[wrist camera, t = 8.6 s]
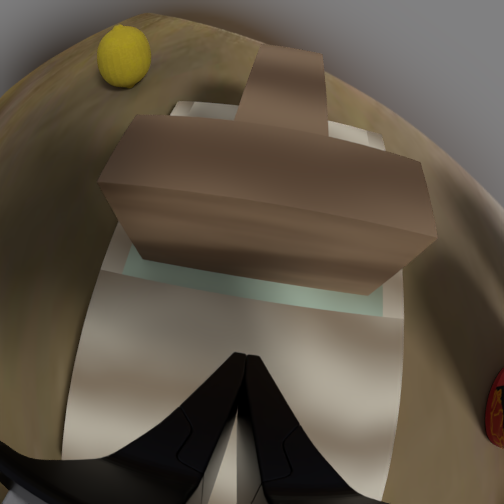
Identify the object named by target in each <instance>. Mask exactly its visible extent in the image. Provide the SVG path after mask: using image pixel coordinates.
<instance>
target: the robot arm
mask: <svg viewBox="0 0 504 504" xmlns="http://www.w3.org/2000/svg"><path fill="white" fill-rule="evenodd" d="M237 410H238V411H237ZM236 415H237V504H389V503H385V502H382V501H379V500H375V499H372V498H369V497H366V496H364V495H362V494H360V493H358V492H357V491H355V490H354V489H353V488H352V487H350V486H349V485H348V484H347V483H346V482H345V480H344V479H343V478H342V477H341V476H340V475H339V474H338V473H337V472H336V470H335V469H334V468H333V467H332V466H331V465H330V464H329V463H328V461H327V460H326V459H325V458H324V457H323V456H322V454H321V453H320V452H319V451H318V449H317V448H316V447H315V446H314V444H313V443H312V441H311V440H310V438H309V437H308V435H307V434H306V432H305V431H304V429H303V427H302V426H301V425H300V423H299V421H298V419H297V418H296V416H295V415H294V413H293V411H292V410H291V408H290V406H289V405H288V403H287V401H286V400H285V398H284V396H283V395H282V393H281V391H280V390H279V388H278V386H277V385H276V383H275V381H274V379H273V378H272V376H271V374H270V373H269V371H268V369H267V367H266V366H265V364H264V362H263V360H262V359H261V357H260V356H258V355H252V354H248V355H246V354H245V353H239V352H234V353H232V354H231V355H230V356H229V357H228V358H227V359H226V361H225V362H224V363H223V364H222V365H221V366H220V367H219V368H218V369H217V370H216V371H215V372H214V373H213V374H212V375H211V376H210V377H209V378H207V379H206V380H205V381H204V382H203V383H202V384H201V385H200V386H199V387H198V388H197V389H196V390H195V391H194V392H193V393H192V394H191V395H190V396H189V397H188V398H187V399H186V400H185V401H184V402H183V403H182V404H181V405H180V406H179V407H177V408H176V409H175V410H174V411H173V412H172V413H171V414H170V415H169V416H167V417H166V418H165V419H164V420H163V421H161V422H160V423H159V424H158V425H156V426H155V427H153V428H152V429H151V430H149V431H148V432H146V433H145V434H143V435H142V436H140V437H138V438H137V439H135V440H134V441H132V442H131V443H129V444H127V445H126V446H124V447H123V448H121V449H119V450H118V451H116V452H114V453H112V454H110V455H108V456H105V457H101V458H96V459H80V460H40V459H33V458H29V457H26V456H24V455H21V454H19V453H18V452H16V451H14V450H13V449H12V448H10V447H9V446H7V445H6V444H5V443H3V442H1V441H0V482H1V483H2V484H3V485H4V486H5V487H6V488H7V489H8V490H9V492H8V493H7V495H6V497H5V499H4V500H3V502H2V504H208V502H209V499H210V496H211V493H212V490H213V487H214V484H215V481H216V478H217V475H218V472H219V469H220V466H221V463H222V460H223V457H224V454H225V451H226V448H227V445H228V442H229V439H230V435H231V432H232V429H233V426H234V423H235V419H236Z"/></svg>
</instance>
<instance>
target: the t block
mask: <svg viewBox="0 0 504 504" xmlns="http://www.w3.org/2000/svg"><path fill="white" fill-rule="evenodd" d="M97 183H98V185H99V187H100V189H101V191H102V192H103V194H104V196H105V198H106V200H107V201H108V203H109V205H110V207H111V208H112V210H113V212H114V213H115V215H116V217H117V219H118V220H119V222H120V224H121V225H122V227H123V229H124V230H125V232H126V234H127V235H128V237H129V238H130V240H131V242H132V243H133V245H134V246H135V248H136V250H137V251H138V253H139V254H140V256H141V258H142V259H144V260H149V261H154V262H160V263H165V264H170V265H176V266H181V267H187V268H193V269H198V270H204V271H210V272H216V273H221V274H227V275H233V276H239V277H245V278H251V279H258V280H264V281H270V282H276V283H283V284H289V285H296V286H302V287H309V288H316V289H323V290H329V291H336V292H343V293H351V294H358V295H365V296H368V295H370V294H371V293H372V292H373V291H375V290H376V289H377V288H379V287H380V286H381V285H383V284H384V283H385V282H386V281H388V280H389V279H390V278H391V277H393V276H394V275H395V274H396V273H398V272H399V271H400V270H401V269H402V268H404V267H405V266H406V265H407V264H408V263H410V262H411V261H412V260H413V259H414V258H416V257H417V256H418V255H419V254H420V253H421V252H423V251H424V250H425V249H426V248H427V247H428V246H429V245H431V244H432V243H433V242H434V241H435V240H436V239H437V238H438V236H437V230H436V225H435V219H434V215H433V210H432V205H431V201H430V197H429V192H428V188H427V184H426V181H425V177H424V173H423V170H422V166H421V163H420V162H419V161H416V160H413V159H410V158H406V157H403V156H400V155H397V154H394V153H390V152H387V151H384V150H380V149H377V148H373V147H369V146H366V145H362V144H358V143H354V142H350V141H346V140H342V139H338V138H333V137H329V130H328V113H327V98H326V86H325V75H324V65H323V56H322V54H320V53H315V52H310V51H305V50H300V49H293V48H288V47H281V46H274V45H267V44H261V46H260V48H259V51H258V54H257V56H256V59H255V62H254V64H253V67H252V70H251V72H250V75H249V78H248V81H247V84H246V86H245V89H244V92H243V95H242V98H241V101H240V104H239V107H238V110H237V112H236V115H235V118H234V121H233V120H224V119H214V118H203V117H189V116H170V115H136V116H135V117H134V119H133V121H132V122H131V124H130V125H129V127H128V128H127V130H126V131H125V133H124V135H123V136H122V138H121V139H120V141H119V143H118V144H117V146H116V148H115V149H114V151H113V153H112V155H111V156H110V158H109V160H108V162H107V163H106V165H105V167H104V169H103V171H102V172H101V174H100V176H99V178H98V180H97Z"/></svg>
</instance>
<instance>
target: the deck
mask: <svg viewBox="0 0 504 504" xmlns="http://www.w3.org/2000/svg"><path fill="white" fill-rule="evenodd" d="M238 107H239V106H238V105H228V104H218V103H205V102H189V101H178V103H177V104H176V106H175V108H174V109H173V111H172V113H171V115H170V116H189V117H203V118H214V119H224V120H233V121H234V118H235V115H236V112H237V110H238ZM328 130H329V137H333V138H338V139H342V140H346V141H350V142H354V143H358V144H362V145H366V146H369V147H373V148H377V149H380V150H384V151H385V146H384V142H383V138H382V135H381V134H377V133H374V132H371V131H367V130H363V129H360V128H356V127H352V126H348V125H344V124H340V123H336V122H332V121H328ZM403 348H404V295H403V274H402V269H401V270H400V271H399V272H398V273H396V274H395V275H394V276H393V277H391V278H390V279H389V280H388V281H386V282H385V283H384V284H383V285H381V286H380V287H379V288H377V289H376V290H375V291H373V292H372V293H371V294H370V295H368V296H365V295H358V294H351V293H343V292H336V291H329V290H323V289H316V288H309V287H302V286H296V285H289V284H283V283H276V282H270V281H264V280H258V279H251V278H245V277H239V276H233V275H227V274H221V273H216V272H210V271H204V270H198V269H193V268H187V267H181V266H176V265H170V264H165V263H160V262H154V261H149V260H144V259H142V258H141V256H140V254H139V253H138V251H137V250H136V248H135V246H134V245H133V243H132V242H131V240H130V238H129V237H128V235H127V234H126V232H125V230H124V229H123V227H122V225H121V224H120V222H119V221H118V224H117V226H116V229H115V231H114V234H113V236H112V239H111V241H110V244H109V247H108V250H107V252H106V255H105V258H104V261H103V264H102V266H101V269H100V272H99V275H98V278H97V281H96V285H95V288H94V291H93V294H92V297H91V301H90V304H89V308H88V311H87V315H86V318H85V322H84V326H83V330H82V334H81V338H80V342H79V346H78V350H77V355H76V360H75V364H74V369H73V374H72V380H71V385H70V391H69V397H68V403H67V410H66V418H65V426H64V435H63V447H62V460H80V459H96V458H101V457H105V456H108V455H110V454H112V453H114V452H116V451H118V450H119V449H121V448H123V447H124V446H126V445H127V444H129V443H131V442H132V441H134V440H135V439H137V438H138V437H140V436H142V435H143V434H145V433H146V432H148V431H149V430H151V429H152V428H153V427H155V426H156V425H158V424H159V423H160V422H161V421H163V420H164V419H165V418H166V417H167V416H169V415H170V414H171V413H172V412H173V411H174V410H175V409H176V408H177V407H179V406H180V405H181V404H182V403H183V402H184V401H185V400H186V399H187V398H188V397H189V396H190V395H191V394H192V393H193V392H194V391H195V390H196V389H197V388H198V387H199V386H200V385H201V384H202V383H203V382H204V381H205V380H206V379H207V378H209V377H210V376H211V375H212V374H213V373H214V372H215V371H216V370H217V369H218V368H219V367H220V366H221V365H222V364H223V363H224V362H225V361H226V359H227V358H228V357H229V356H230V355H231V354H232V353H234V352H239V353H245V354H246V355H248V354H252V355H258V356H260V357H261V359H262V360H263V362H264V364H265V366H266V367H267V369H268V371H269V373H270V374H271V376H272V378H273V379H274V381H275V383H276V385H277V386H278V388H279V390H280V391H281V393H282V395H283V396H284V398H285V400H286V401H287V403H288V405H289V406H290V408H291V410H292V411H293V413H294V415H295V416H296V418H297V419H298V421H299V423H300V425H301V426H302V427H303V429H304V431H305V432H306V434H307V435H308V437H309V438H310V440H311V441H312V443H313V444H314V446H315V447H316V448H317V449H318V451H319V452H320V453H321V454H322V456H323V457H324V458H325V459H326V460H327V461H328V463H329V464H330V465H331V466H332V467H333V468H334V469H335V470H336V472H337V473H338V474H339V475H340V476H341V477H342V478H343V479H344V480H345V482H346V483H347V484H348V485H349V486H350V487H352V488H353V489H354V490H355V491H357V492H358V493H360V494H362V495H364V496H366V497H369V498H372V499H375V500H379V501H381V499H382V496H383V492H384V488H385V484H386V480H387V475H388V471H389V466H390V461H391V456H392V451H393V446H394V440H395V433H396V427H397V420H398V412H399V403H400V394H401V383H402V369H403ZM237 411H238V410H237ZM208 504H237V415H236V419H235V423H234V426H233V429H232V432H231V435H230V439H229V442H228V445H227V448H226V451H225V454H224V457H223V460H222V463H221V466H220V469H219V472H218V475H217V478H216V481H215V484H214V487H213V490H212V493H211V496H210V499H209V502H208Z"/></svg>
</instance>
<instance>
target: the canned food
mask: <svg viewBox="0 0 504 504" xmlns="http://www.w3.org/2000/svg"><path fill="white" fill-rule="evenodd" d="M485 425H486V432H487V436H488V438H489V440H490V441H491V442H492V443H493V444H494V445H496V446H498V447H500V448H503V449H504V368H503V369H502V370H501V371H500V372H499V374H498V375H497V377H496V379H495V381H494V383H493V385H492V387H491V390H490V393H489V397H488V401H487V406H486V413H485Z"/></svg>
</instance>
